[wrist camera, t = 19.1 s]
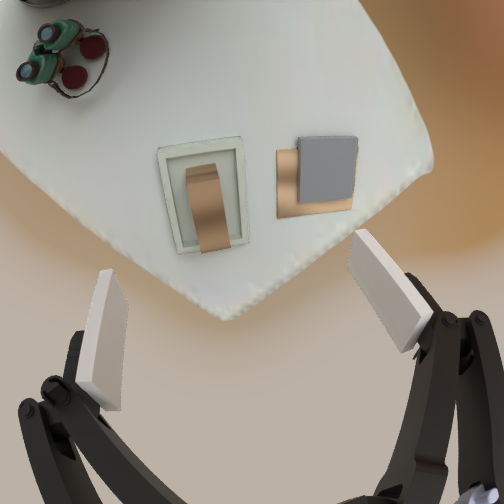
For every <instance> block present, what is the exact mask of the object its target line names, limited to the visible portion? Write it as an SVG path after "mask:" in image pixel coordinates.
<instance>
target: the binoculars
mask: <svg viewBox="0 0 504 504" xmlns="http://www.w3.org/2000/svg"><path fill="white" fill-rule="evenodd" d="M83 30H85V31H86V32H97V33H99V34H101V35H102V36H100V35H92V36H89V37H87V38H83ZM98 30H99V29H96V30H95V29H94V30H91V29H89V28H87V29H85V28H84V27H83V25H81V24H80V23H78V21H75V20H72V19H69V20H56V21H54V22H52V23H51V24H49V23H48V24H44V25H42V26H41V27H40V29H39V30H38V39H39V40H38V41H37V42H36V43H35V44H34V47H33V51H32V52H31V54H30V56H29V58H28V60H27V62H25V63H23V64H21V65H20V66H19V68H18V69H17V72H16V78H17V79H18V80H19V81H21V82H23V81H24V82H26V83H28V84H32V85H36V84H41V83H48V85H50V86H51V87H52V88H54V89H55V90H56V91H57V92H58V93H60V94H61V95H62V96H64V97H66V98H68V99H70V98H77V97H79V96H81V95H83V94H85V93H87V92H89V91H91V89H92V88H93V87H94V86H95V85H96V84H97V83H98V82H99V80H100V78H101V76H102V74H103V73H104V70H105V68H106V65H107V61H108V57H109V47H108V41H107V40H106V38H105V36H104V34H102V33H100V32H98ZM78 42H81V43H80V52H81V54H82V55H83V56H84V57H85V58H86V59H96V58H98V57H100V56H101V55H102V54H103V53H104V52H105V51H106V52H107V55H106V60H105V64H104V67H103V69H102V72H101V74H100V76H99V78H98V79H97V81H96V83H95V84H94V85H93V86H92V87H91V88H90V90H89V91H87V92H85V93H83V94H81V95H79V96H69V95H67V94H65V93H64V92H63V91H62V90H61V89H60V88H59V86H58V84H57V83H56V82H54V81H53V79H54V78H55V76H56V74H58V73H62V77H61V78H62V82H63V84H64V86H65V87H66V88H68V89H71V90H74V89H77V88H80V87H81V86H83V85H84V83H85V82H86V80H87V71H86V69H85V68H84V67H82V66H70V67H68V68H66V69H65V68H64V66H65V63H64V60H63V58H62V56H61V54H60V53H61V52H62V51H63V50H65V49H67V48H69V47H70V46H71V45H72V44H76V43H78ZM52 50H60V51H59V52H58V53H53V52H52ZM50 83H54V84H53V85H51V84H50Z"/></svg>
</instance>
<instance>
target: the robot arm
mask: <svg viewBox="0 0 504 504" xmlns="http://www.w3.org/2000/svg"><path fill="white" fill-rule="evenodd" d="M19 1H21V2H22V3H24V4H26V5H30V6H34V7H40V8H45V7H52V6H56V5H59V4H62V3H65V2H67V1H69V0H19ZM347 269H348V270H349V272H350V273H351V275H352V276H353V278H354V279H355V281H356V282H357V284H358V285H359V287H360V289H361V290H362V292H363V293H364V295H365V296H366V298H367V299H368V301H369V302H370V304H371V305H372V307H373V309H374V310H375V312H376V314H377V315H378V317H379V318H380V320H381V322H382V323H383V325H384V326H385V328H386V329H387V331H388V333H389V335H390V336H391V338H392V340H393V341H394V343H395V345H396V346H397V348H398V350H399V351H400V353H404V352H406V351H409V350H411V349H413V347H414V346H415V344H416V342H418V344H419V345H420V347H419V349H418V350H417V352H416V353H415V355H414V357H413V359H415V358H416V357H417V360H416V365H415V371H414V376H413V381H412V386H411V391H410V395H409V399H408V403H407V408H406V411H405V415H404V419H403V422H402V426H401V430H400V433H399V436H398V440H397V443H396V446H395V449H394V452H393V455H392V458H391V461H390V464H389V466H388V469H387V471H386V473H385V475H384V476H383V477H382V479H381V480H380V482H379V484H378V486H377V488H376V490H375V493H374V495H373V496H365V495H363V496H360V497H356V498H353V499H349V500H346V501H343V502H341V503H338V504H439V502H440V499H441V496H442V493H443V490H444V487H445V483H446V480H447V476H448V467H447V466H446V465H445V457H446V453H447V448H448V444H449V439H450V434H451V428H452V422H453V416H454V409H455V403H456V405H457V418H458V444H459V445H458V446H459V458H458V460H459V461H458V487H459V495H460V497H459V499H458V501H456V502H455V503H454V504H504V370H503V365H502V361H501V357H500V353H499V349H498V346H497V342H496V339H495V335H494V332H493V329H492V326H491V323H490V320H489V318H488V316H487V315H486V314H485V313H484V312H482V311H479V310H475V311H473V312H472V313H471V315H470V316H469V318H457V316H455V315H454V314H453V313H451V312H447V311H442V309H441V308H440V306H439V305H438V304H437V303H436V301H435V300H434V299H433V297H432V296H431V295H430V294H429V292H427V290H426V289H425V287H424V286H422V284H421V282H420V281H419V280H418V279H417V278H416V277H415V276H413V275H412V274H411V273H403V272H402V271H401V269H400V268H399V267H398V266H397V265H396V263H395V262H394V261H393V260H392V259H391V257H390V256H389V255H388V254H387V253H386V251H385V250H384V249H383V248H382V247H381V246H380V245H379V243H378V242H377V241H376V240H375V239H374V238H373V237H372V235H371V234H370V233H369V232H368V231H367V230H366V229H360V230H354V234H353V240H352V246H351V251H350V256H349V261H348V266H347ZM128 310H129V304H128V301H127V299H126V297H125V295H124V293H123V290H122V288H121V286H120V283H119V281H118V279H117V276H116V274H115V272H114V269H113V268H112V269H106V270H101V271H100V274H99V277H98V280H97V284H96V288H95V291H94V295H93V299H92V303H91V306H90V311H89V314H88V319H87V323H86V327H85V330H84V331H76V332H75V334H74V335H73V337H72V339H71V341H70V345H69V351H68V354H67V359H66V364H65V369H64V374H63V378H62V377H60V376H57V375H54V376H50V377H48V378H47V379H46V380H45V381H44V382H43V384H42V387H41V396H42V398H43V399H44V400H45V401H42V402H39V403H38V402H36V401H35V400H34V399H32V398H27V399H25V400H23V401H22V402H21V404H20V405H19V409H18V417H19V421H20V426H21V431H22V434H23V439H24V443H25V447H26V450H27V454H28V457H29V461H30V464H31V467H32V470H33V473H34V476H35V479H36V482H37V485H38V487H39V490H40V493H41V495H42V498H43V500H44V502H45V504H103V503H102V502H101V500H100V498H99V496H98V494H97V492H96V490H95V488H94V486H93V484H92V482H91V480H90V478H89V476H88V474H87V471H86V469H85V467H84V465H83V463H82V460H81V458H80V455H79V453H78V451H77V448H76V446H75V444H76V445H77V446H78V448H79V449H80V451H81V452H82V454H83V455H84V456H85V458H86V459H87V460H88V462H89V463H90V465H91V466H92V467H93V469H94V470H95V471H96V472H97V474H98V475H99V476H100V477H101V479H102V480H103V481H104V482H105V484H106V485H107V486H108V487H109V488H110V490H111V491H112V492H113V493H114V494H115V495H116V496H117V497H118V499H119V500H120V501H121V502H122V503H123V504H187V503H186V502H184V501H183V500H182V499H181V498H179V497H178V496H177V495H176V494H175V493H174V492H173V491H172V490H171V489H169V488H168V487H167V486H166V485H165V484H164V483H163V482H162V481H160V479H159V478H158V477H157V476H156V475H154V474H153V473H152V472H151V471H150V470H149V469H148V468H147V467H146V466H145V465H144V463H143V462H142V461H141V460H140V459H139V458H138V457H137V456H136V455H135V454H134V453H133V452H132V451H131V450H130V449H129V447H128V446H127V445H126V444H125V443H124V442H123V441H122V439H121V438H120V437H119V436H118V435H117V434H116V432H115V431H114V430H113V429H112V428H111V426H110V425H109V424H108V423H107V421H106V420H105V419H104V418H103V416H102V415H101V414H100V407H102V408H103V409H104V410H105V411H121V385H122V368H123V357H124V356H123V355H124V344H125V336H126V327H127V318H128ZM74 442H75V443H74Z"/></svg>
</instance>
